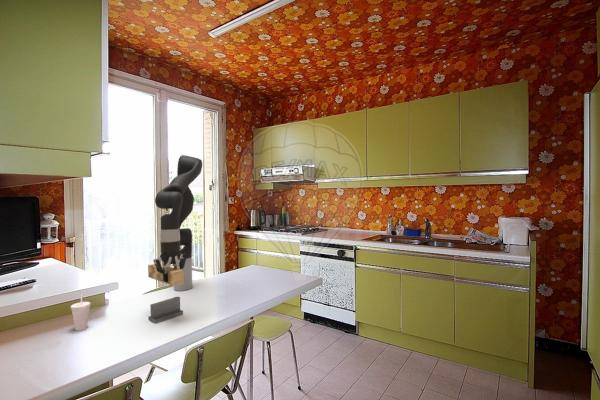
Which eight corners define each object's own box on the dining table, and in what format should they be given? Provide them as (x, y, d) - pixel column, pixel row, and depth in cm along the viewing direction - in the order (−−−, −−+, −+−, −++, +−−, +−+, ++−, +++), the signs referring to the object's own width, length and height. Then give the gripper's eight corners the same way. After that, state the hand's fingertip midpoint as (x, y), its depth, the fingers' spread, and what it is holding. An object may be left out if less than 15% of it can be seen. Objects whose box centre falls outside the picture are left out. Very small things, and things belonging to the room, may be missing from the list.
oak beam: (148, 277, 135) (148, 264, 135) (157, 275, 138) (156, 263, 138) (174, 286, 122) (174, 272, 121) (183, 283, 125) (183, 270, 125)
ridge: (148, 320, 127) (148, 303, 127) (175, 311, 137) (175, 295, 137) (155, 323, 124) (155, 306, 124) (182, 314, 133) (182, 298, 133)
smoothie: (78, 333, 116) (77, 297, 115) (67, 331, 118) (66, 295, 118) (95, 326, 122) (94, 291, 121) (83, 324, 124) (82, 290, 124)
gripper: (181, 237, 134) (182, 275, 135) (148, 241, 123) (149, 283, 124) (190, 238, 130) (191, 278, 130) (157, 243, 118) (158, 286, 119)
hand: (171, 280), depth 127 cm, fingers closed on oak beam, 4 cm apart
